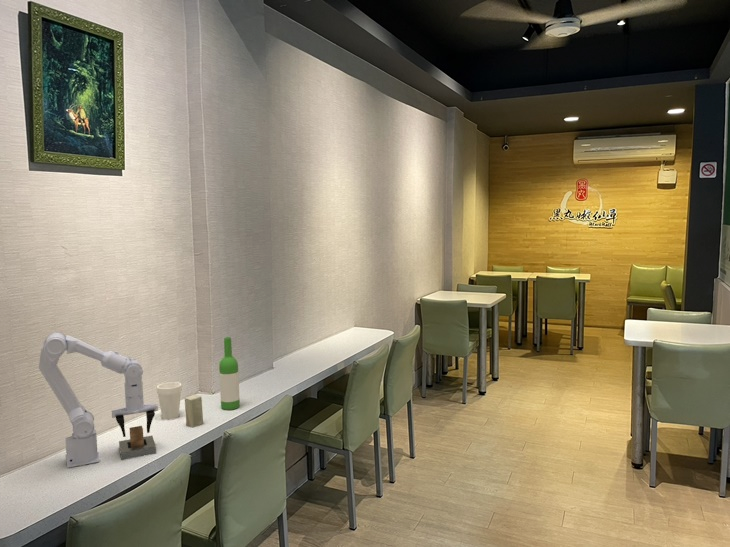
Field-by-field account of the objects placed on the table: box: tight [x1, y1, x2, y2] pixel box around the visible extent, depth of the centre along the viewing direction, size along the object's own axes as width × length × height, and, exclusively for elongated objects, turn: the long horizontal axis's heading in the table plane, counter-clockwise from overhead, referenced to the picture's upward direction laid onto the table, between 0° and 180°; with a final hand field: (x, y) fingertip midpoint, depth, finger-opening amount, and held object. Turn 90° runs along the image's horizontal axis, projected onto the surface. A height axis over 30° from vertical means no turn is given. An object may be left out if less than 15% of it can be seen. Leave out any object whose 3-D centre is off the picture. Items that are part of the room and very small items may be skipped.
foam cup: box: [156, 381, 182, 420], centre depth 227 cm, size 10×9×13 cm
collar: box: [118, 435, 157, 461], centre depth 194 cm, size 11×11×2 cm
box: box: [184, 394, 204, 428], centre depth 218 cm, size 5×4×11 cm
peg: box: [129, 425, 144, 448], centre depth 194 cm, size 4×4×8 cm
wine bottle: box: [218, 337, 241, 411], centre depth 236 cm, size 8×8×30 cm
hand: (136, 433), depth 193 cm, fingers open, 7 cm apart
